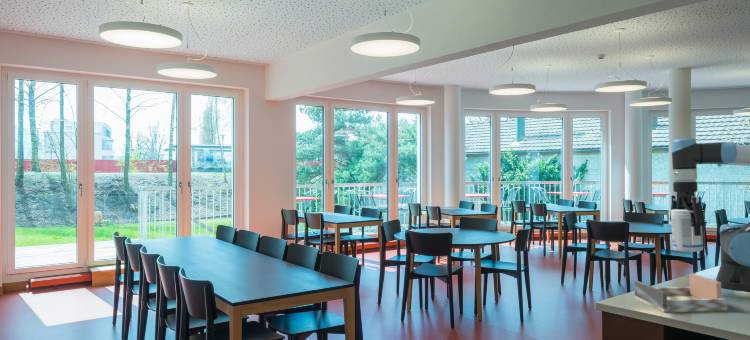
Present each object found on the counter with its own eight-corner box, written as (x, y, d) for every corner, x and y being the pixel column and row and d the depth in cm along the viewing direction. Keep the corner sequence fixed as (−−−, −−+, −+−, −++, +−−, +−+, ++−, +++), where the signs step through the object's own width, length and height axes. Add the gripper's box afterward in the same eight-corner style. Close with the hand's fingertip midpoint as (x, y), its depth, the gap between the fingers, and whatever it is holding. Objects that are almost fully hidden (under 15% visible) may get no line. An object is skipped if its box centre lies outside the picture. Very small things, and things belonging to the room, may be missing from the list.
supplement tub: (708, 250, 185) (706, 209, 185) (695, 253, 180) (693, 211, 180) (680, 247, 193) (678, 208, 193) (667, 250, 188) (665, 210, 188)
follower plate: (694, 294, 177) (693, 273, 177) (721, 304, 163) (721, 282, 163) (689, 294, 177) (689, 273, 177) (717, 304, 163) (716, 282, 163)
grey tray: (692, 296, 179) (691, 279, 179) (727, 310, 161) (726, 291, 161) (634, 298, 178) (634, 281, 178) (663, 312, 161) (663, 293, 161)
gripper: (657, 181, 198) (659, 239, 198) (693, 182, 176) (696, 247, 176) (677, 180, 198) (679, 238, 198) (715, 181, 176) (718, 246, 176)
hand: (687, 242), depth 187 cm, fingers closed on supplement tub, 9 cm apart
